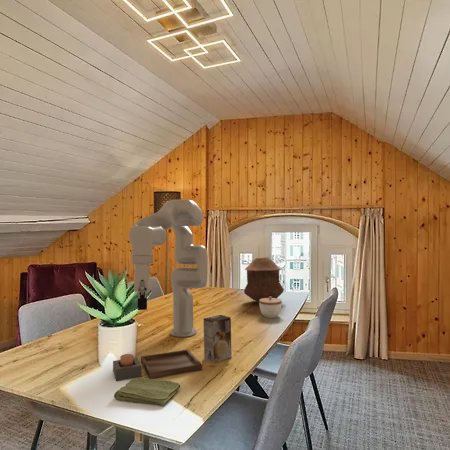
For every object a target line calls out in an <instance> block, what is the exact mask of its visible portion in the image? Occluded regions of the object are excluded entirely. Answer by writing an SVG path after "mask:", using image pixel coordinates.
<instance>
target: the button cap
mask: <svg viewBox="0 0 450 450" xmlns="http://www.w3.org/2000/svg"><path fill="white" fill-rule="evenodd" d="M133 358H134V354H132V353H124V354H121V355H120V359H119V360H120V364H121V366H122V367H125V366H131V365H133Z"/></svg>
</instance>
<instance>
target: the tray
mask: <svg viewBox="0 0 450 450" xmlns="http://www.w3.org/2000/svg"><path fill="white" fill-rule="evenodd" d="M140 364H141V367H142V368H143V369H144V371H145V373H146V375H147V376H148V379H153V380H156V379H160V378H166V377H171V376H177V375H182V374H187V373H188V374H189V373H193V372H199V371H203V363H202V362H201V361H200V360H199V359H198V358H197V357H196V356H195V355H194V354H193V353H192V352H191V351H190V350H189V349H183V350H175V351H168V352H162V353H155V354H149V355H143V356H142V355H141V356H140Z"/></svg>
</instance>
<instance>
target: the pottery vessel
mask: <svg viewBox="0 0 450 450" xmlns="http://www.w3.org/2000/svg"><path fill="white" fill-rule="evenodd" d="M244 270H245V271H246V278H247V279H246V280H247V281H246V282H247V283H246V284H245V287H244V290H243V293H244V295H246V296H247V297H248V298H250V299H252V300H253V301H255V302H257V303H256V304H258V305H259V300H260V299H262V298H269V297H270V296H271V298H277V299H279V297H280V296H281V295H282V294H283V293H284V291H285V289H284V288H283V286H282V284H281V283H280V271H281V267H279V266H278V265H277V263H275V262H274V261H273V260H272V259H271V258H270V257H269V256H260V257H255V258H254V260H252V261H251V262H250V264H249V265H247V266H246V267H245V268H244Z"/></svg>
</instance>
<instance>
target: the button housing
mask: <svg viewBox="0 0 450 450" xmlns="http://www.w3.org/2000/svg"><path fill="white" fill-rule="evenodd" d="M112 372H114V373H113V376H114V380H115V379H116V380H115V381H116V382H120V381H126V380H131V379H133V378H137V377H140V378H143V377H142V375H143V374H142V373H143V372H142V364H141V361H140V360H139V359H138V357H137V356H136V357H133V365H131V366H125V367H122V366H121V364H120V359H117V360H113V361H112Z"/></svg>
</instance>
